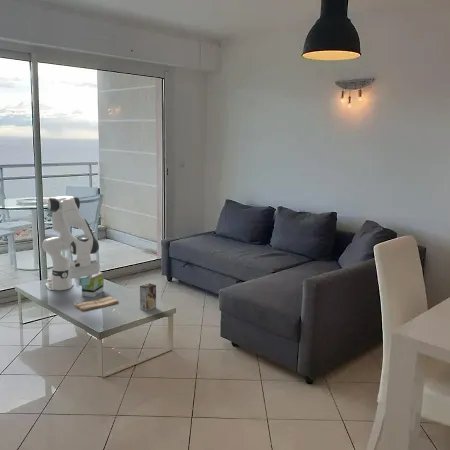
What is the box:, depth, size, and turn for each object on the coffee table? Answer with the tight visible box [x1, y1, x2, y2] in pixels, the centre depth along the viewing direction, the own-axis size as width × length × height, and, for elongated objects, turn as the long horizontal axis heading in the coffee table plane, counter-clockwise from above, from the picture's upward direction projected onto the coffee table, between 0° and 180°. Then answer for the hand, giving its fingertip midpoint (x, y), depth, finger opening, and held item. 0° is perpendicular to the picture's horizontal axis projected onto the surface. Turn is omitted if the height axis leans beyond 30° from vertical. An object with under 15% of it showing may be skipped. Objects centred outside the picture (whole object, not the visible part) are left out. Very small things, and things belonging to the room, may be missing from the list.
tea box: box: [81, 271, 105, 298], centre depth 330 cm, size 15×10×15 cm, turn 168°
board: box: [74, 296, 120, 312], centre depth 308 cm, size 12×26×2 cm, turn 134°
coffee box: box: [139, 283, 157, 312], centre depth 303 cm, size 9×6×16 cm
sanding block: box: [78, 276, 90, 288], centre depth 299 cm, size 6×5×5 cm
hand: (84, 282), depth 299 cm, fingers closed on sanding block, 5 cm apart
